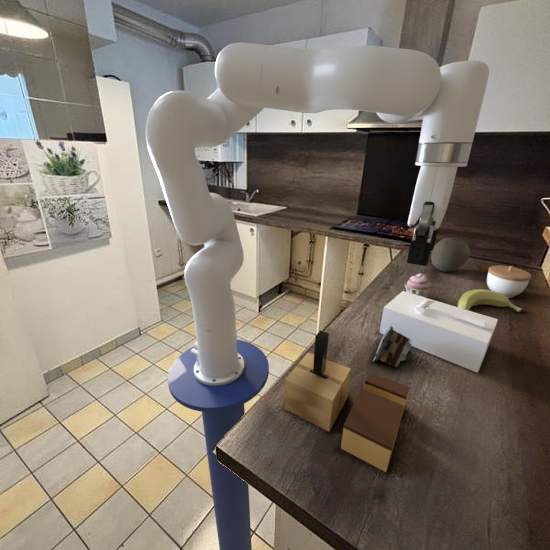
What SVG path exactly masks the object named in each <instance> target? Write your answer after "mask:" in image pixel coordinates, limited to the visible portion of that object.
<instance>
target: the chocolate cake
mask: <svg viewBox="0 0 550 550" xmlns="http://www.w3.org/2000/svg"><path fill="white" fill-rule="evenodd" d="M410 341H411V340H410V339H409V338H407V337H405V336H404V335H402V334H400V333H398V332H396V331H394V330H393V327H392V324H391V326H390V327H389V328H388V330H387V331H386V333H385V334H383V335H382V337H381V340H380V342H379V345H378V347H377V350H376V352H375V355H374V357H373V359H372V362H376V363H377V362H378V361H379V360H380V361H381V362H383V363H385V364H386V365H389V366H390V367H393V368H396V367H398V366H399V364H400V362H403V363H404V362H406V361H407V359H406V358H407V354H408V352H409V351H410V349H411V347H413V346H412V345H411V344H410Z"/></svg>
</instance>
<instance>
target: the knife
mask: <svg viewBox="0 0 550 550" xmlns="http://www.w3.org/2000/svg"><path fill="white" fill-rule="evenodd" d="M329 335H330V333H329V332H327V331H323V330H319V331H318V332H317V334H315V339H314V351H313V352H314V353H313V354H314V365H313V369H312V373H313V374H316V375H318V376H320V377H323V378H325V379H326V374H324V372H325V370H326V359H327V356H328V347H329V346H328V345H329Z"/></svg>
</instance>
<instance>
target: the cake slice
mask: <svg viewBox="0 0 550 550" xmlns="http://www.w3.org/2000/svg"><path fill="white" fill-rule="evenodd" d="M363 389H365V390H367V391H369V392H372V393H374V394H377V395H379V396H382V397H384V398H387V399H389V400H391V401H394V402H396V403H399V404H401V405H404V408H403V412H402V416H401V419H402V418H403V414H404V411H405V408H406V403H407V400H408V395H409V390H410V386H409V385H405V384H403V383H399V382H398V381H394V380H392V379H389V378H386V377H383V376H381V375H379V374H375V373H373V372H370V371H369V372H368V374H367V376H366V378H365V380H364V386H363Z"/></svg>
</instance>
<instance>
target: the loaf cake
mask: <svg viewBox="0 0 550 550" xmlns="http://www.w3.org/2000/svg"><path fill="white" fill-rule="evenodd" d="M403 408H404V409H405V407H404V405H401V404H399V403H396V402H394V401H391V400H389V399H387V398H384V397H382V396H379V395H377V394H374V393H372V392H369V391H367V390H365V389H364V388H362V387H361V388H360V390H359V393H358V394H357V397H356V399H355V400H354V403H353V404H352V406H351V409H350V410H349V413H348V414H347V417H346V419H345V421H344V423H343V428H342V435H341V442H340V443H341V444H340V450H343V451H345V452H347V453H348V454H351V455H353V456H354V457H356V458H358V459H360V460H362V461H364V462H366V463H367V464H370V465H371V466H373V467H375V468H377V469H379V470H380V471H383V472H384V473H387V471H388V469H389V468H388V467H389V464H390V461H391V457H392V453H393V450H394V447H395V443H396V439H397V436H398V434H399V433H398V432H399V428H400V424H401V420H402V418H401V416H402V417H403V415H402V412H403V413H404V411H403Z"/></svg>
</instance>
